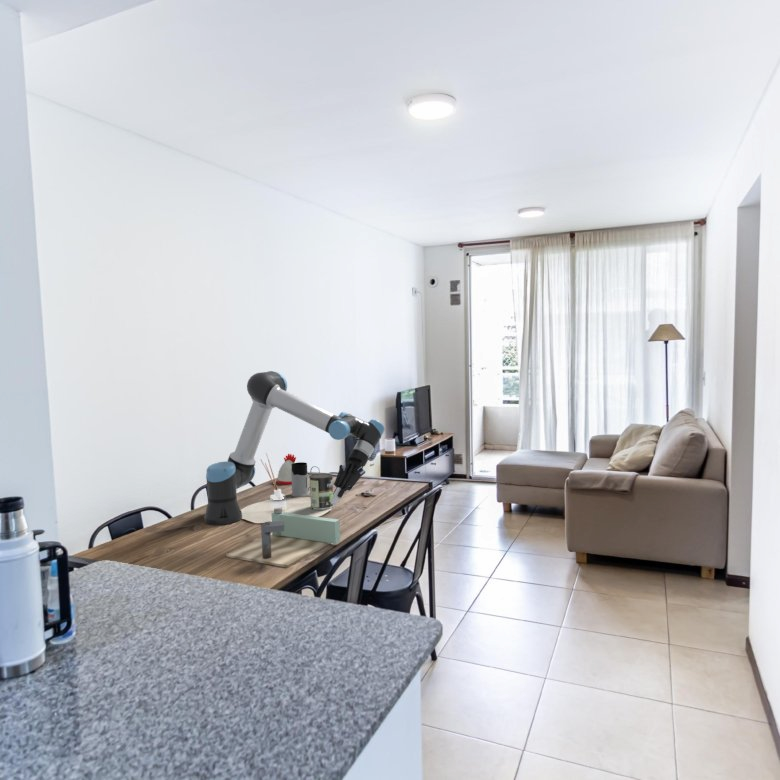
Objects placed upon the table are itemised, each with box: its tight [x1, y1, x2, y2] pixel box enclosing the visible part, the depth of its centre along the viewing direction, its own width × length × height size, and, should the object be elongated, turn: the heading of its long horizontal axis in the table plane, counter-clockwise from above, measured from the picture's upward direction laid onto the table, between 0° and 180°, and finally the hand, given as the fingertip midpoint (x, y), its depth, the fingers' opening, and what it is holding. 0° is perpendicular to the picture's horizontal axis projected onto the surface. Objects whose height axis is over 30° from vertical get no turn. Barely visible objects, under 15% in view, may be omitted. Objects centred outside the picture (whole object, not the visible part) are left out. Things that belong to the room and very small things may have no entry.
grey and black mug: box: [291, 461, 321, 498], centre depth 279 cm, size 9×14×15 cm, turn 87°
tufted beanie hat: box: [277, 453, 298, 486], centre depth 308 cm, size 14×14×15 cm
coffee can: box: [308, 472, 334, 511], centre depth 256 cm, size 10×10×14 cm
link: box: [271, 511, 341, 545], centre depth 211 cm, size 28×5×8 cm, turn 63°
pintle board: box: [225, 507, 331, 568], centre depth 203 cm, size 26×28×11 cm
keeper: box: [260, 521, 285, 559], centre depth 193 cm, size 8×5×12 cm, turn 98°
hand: (332, 503), depth 222 cm, fingers closed
